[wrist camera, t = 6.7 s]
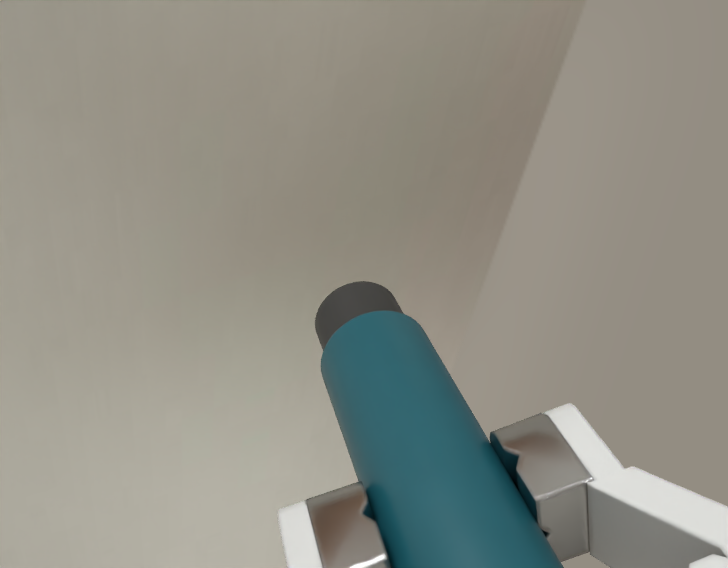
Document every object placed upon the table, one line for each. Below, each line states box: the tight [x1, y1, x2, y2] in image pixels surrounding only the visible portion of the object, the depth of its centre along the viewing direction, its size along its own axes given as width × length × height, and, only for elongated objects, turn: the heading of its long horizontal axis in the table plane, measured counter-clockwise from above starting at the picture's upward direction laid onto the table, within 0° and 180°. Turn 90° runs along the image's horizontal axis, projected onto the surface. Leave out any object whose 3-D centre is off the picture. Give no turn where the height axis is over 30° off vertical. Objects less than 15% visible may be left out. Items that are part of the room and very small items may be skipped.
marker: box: [315, 281, 564, 568], centre depth 11 cm, size 2×2×13 cm
